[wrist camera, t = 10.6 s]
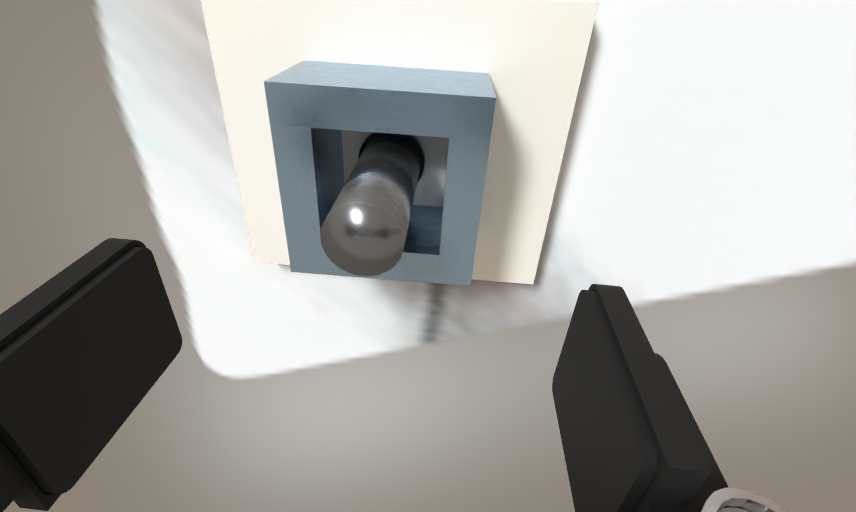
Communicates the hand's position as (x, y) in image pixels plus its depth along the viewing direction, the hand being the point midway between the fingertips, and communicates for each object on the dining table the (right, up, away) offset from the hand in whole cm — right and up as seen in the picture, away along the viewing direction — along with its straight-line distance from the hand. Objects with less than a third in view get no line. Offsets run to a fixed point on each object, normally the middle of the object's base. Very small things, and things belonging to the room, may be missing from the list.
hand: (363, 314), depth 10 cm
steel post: (0, +5, +9) cm, 10 cm away
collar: (0, +5, +8) cm, 10 cm away
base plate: (0, +6, +10) cm, 12 cm away
